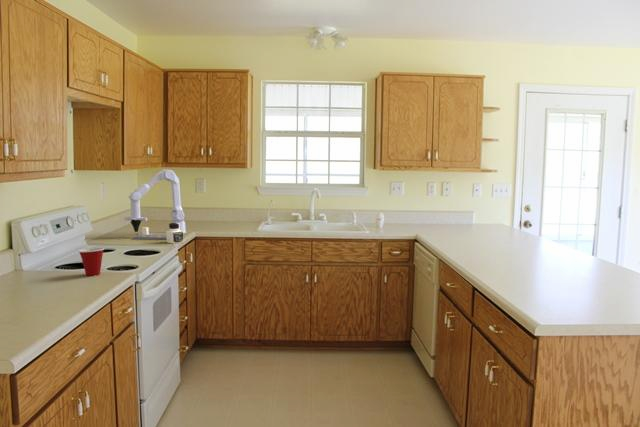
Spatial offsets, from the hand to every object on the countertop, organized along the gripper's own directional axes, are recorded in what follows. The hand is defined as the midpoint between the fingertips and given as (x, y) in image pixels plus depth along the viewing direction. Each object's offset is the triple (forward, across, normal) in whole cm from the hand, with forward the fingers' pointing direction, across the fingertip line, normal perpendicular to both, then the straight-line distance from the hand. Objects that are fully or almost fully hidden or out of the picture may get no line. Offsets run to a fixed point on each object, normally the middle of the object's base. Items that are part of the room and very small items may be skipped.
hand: (136, 231), depth 329 cm
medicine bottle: (+4, +31, -14) cm, 34 cm away
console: (+4, +12, 0) cm, 13 cm away
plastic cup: (+4, +25, -97) cm, 100 cm away
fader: (+2, +6, 0) cm, 6 cm away
